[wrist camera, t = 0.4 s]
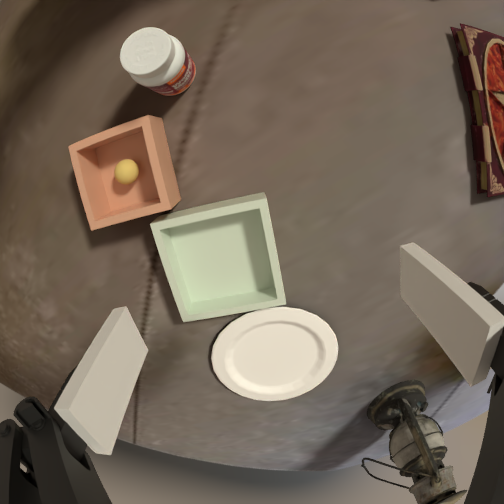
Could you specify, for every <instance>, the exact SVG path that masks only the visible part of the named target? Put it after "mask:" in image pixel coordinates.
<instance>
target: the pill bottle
mask: <svg viewBox="0 0 504 504" xmlns="http://www.w3.org/2000/svg"><path fill="white" fill-rule="evenodd" d="M120 61H121V64H122V66H123V68H124V69H125V70H126V71H127V72H129V74H130V76H131V77H132V78H133V79H134V80H135V81H136V82H137V83H139V84H140V85H143V86H145V87H147V88H149V89H151V90H153V91H155V92H157V93H159V94H161V95H166V96H172V95H177V94H180V93H182V92H183V91H185V90H186V89H187V88H188V87H189V86H190V85H191V84H192V82H193V80H194V78H195V73H196V69H195V64H194V62H193V60H192V59H191V57H190V56H189V54H188V53H187V51H186V50H185V48H184V47H183V45H182V44H181V42H180V41H179V40H177V39H176V38H175V37H173V36H171V35H168V34H167V33H166V32H165V31H163V30H161V29H159V28H154V27H148V28H143V29H140V30H138V31H136V32H135V33H133V34H132V35H130V36H129V37H128V38H127V40H126V41H125V42H124V44H123V46H122V48H121V52H120Z"/></svg>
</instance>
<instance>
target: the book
mask: <svg viewBox="0 0 504 504" xmlns="http://www.w3.org/2000/svg"><path fill="white" fill-rule="evenodd" d="M460 26H461V29H458V28H454V27H451V30H452V33H453V36H454V39H455V43H456V46H457V50H458V53H459V57H458V62H459V66H460V70H461V74H462V79H463V83H464V88H465V91H467V92H468V98H469V104H470V110H471V116H472V124H473V125H471V133H472V143H473V154H474V160H476V168H477V194H479V193H484V192H487V197H491V196H496V195H502V194H504V37H501V36H499V35H496V34H493V33H490V32H487V31H484V30H481V29H478V28H475V27H472V26H468V25H465V24H461V23H460Z"/></svg>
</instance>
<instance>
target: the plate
mask: <svg viewBox="0 0 504 504" xmlns="http://www.w3.org/2000/svg"><path fill="white" fill-rule="evenodd" d="M337 354H338V343H337V339H336V335H335V334H334V332H333V331H332V329H331V328H330V326H329V325H328V323H326V322H325V321H324V320H323V319H321V318H320V317H319V316H317V315H316V314H313V313H311V312H308V311H306V310H303V309H300V308H292V307H285V306H280V307H269V308H264V309H259V310H255V311H252V312H249V313H246V314H244V315H242V316H241V317H239V318H237V319H235V320H234V321H232V322H230V323H229V324H228V325H227V326H226V327H225V328H224V329H223V330H222V331H221V332H220V334H219V335H218V337H217V339H216V341H215V343H214V345H213V349H212V356H211V360H212V365H213V370H214V372H215V373H216V375H217V377H218V378H219V380H220V381H221V382H222V383H223V384H224V385H225V386H226V387H227V388H229V389H230V390H232V391H233V392H235V393H237V394H239V395H241V396H244V397H248V398H251V399H255V400H264V401H276V400H285V399H289V398H293V397H296V396H299V395H301V394H303V393H306V392H308V391H310V390H312V389H313V388H314V387H316V386H317V385H318V384H320V383H321V382H322V381H323V380H324V379H325V378H326V377H327V376H328V374H329V373H330V372H331V371H332V369H333V367H334V364H335V362H336V360H337Z"/></svg>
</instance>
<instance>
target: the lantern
mask: <svg viewBox="0 0 504 504" xmlns="http://www.w3.org/2000/svg"><path fill="white" fill-rule="evenodd" d="M427 406H428V403H427V402H426V397H425V387H424V385H423V383H422V382H420V381H417V380H408V381H404V382H400V383H398V384H396V385H394V386H391V387H390V388H388V389H387V390H385V391H383V392H382V393H381V394H380V395H379V396H377V397H376V398H375V399H374V400H373V402H372V403H371V404H370V406H369V408H368V411H367V416H368V418H369V419H370V420H371V421H372V422H373V423H374V424H376V426H377V427H378V428H379V429H382V430H390V429H393V430H392V431H391V432H390V435H389V438H390V442H389V451H390V459H391V460H392V461H393V460H394V461H393V462H394V463H395V464H396V466H397V467H394V466H391V465H388V464H385V463H382V462H379V461H376V460H373V459H370V458H363V459H362V464H363V465H361V466H362V467H364V468H365V470H366V471H367V473H368V474H369V475H370V476H372V477H374V478H375V479H378V480H381V481H385V482H387V483H390V484H393V485H397V486H400V487H403V488H407V489H409V492H410V493H413V494H414V496H415V498H416V501H417V503H418V504H454V503H455V502H457V501H458V500H459V499H460V498H461V497H462V496H463V495H464V494H465V493H466V492H467V490H463V491H460V492H457V493H456V492H455V489H456V483H455V480H454V477H453V474H452V471H453V466H447V467H445V466H444V464H443V463H442V461H441V460H442V459H443V458H444V456H445V453H446V452H447V448H446V447H445V445H444V441H443V431H442V429H441V427H440V426H439V424H438V423H437V422H436V421H435V420H434V419H432V418H431V417H428V416H426V415H424V414H420V412H424V411H425V410H426V408H427ZM428 418H430V419H432V420H433V421H434V422H433V421H432V420H430V419H428ZM435 423H436V424H437V425H438V427H439V428H440V430H441V432H440V431H439V429H438V427H437V425H436V424H435ZM441 434H442V435H441ZM391 455H392V456H391ZM392 458H393V459H392ZM365 459H366V460H370V461H373V462H376V463H379V464H382V465H385V466H388V467H391V468H395V469H398V470H400V475H401V476H406V477H412V479H413V482H414V485H412V486H411V487H410V488H409V487H406V486H402V485H399V484H395V483H392V482H388V481H386V480H383V479H380V478H377V477H375V476H373V475H372V474H370V473H369V471H368V470H367V468H366V467H365V466H364V460H365ZM452 493H453V494H452Z"/></svg>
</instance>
